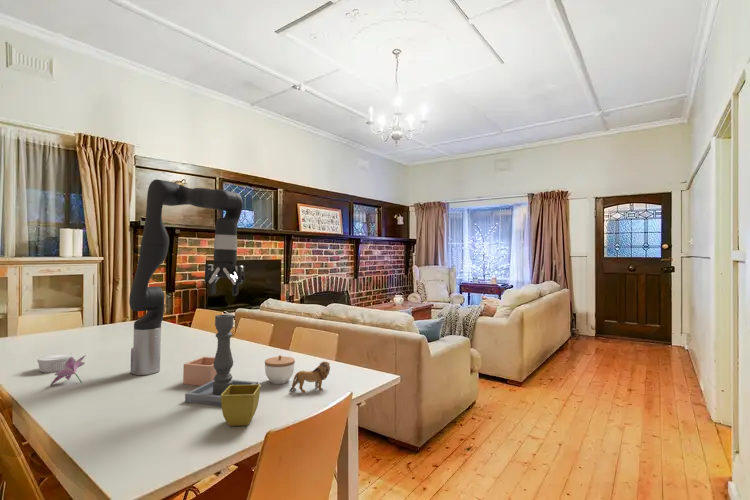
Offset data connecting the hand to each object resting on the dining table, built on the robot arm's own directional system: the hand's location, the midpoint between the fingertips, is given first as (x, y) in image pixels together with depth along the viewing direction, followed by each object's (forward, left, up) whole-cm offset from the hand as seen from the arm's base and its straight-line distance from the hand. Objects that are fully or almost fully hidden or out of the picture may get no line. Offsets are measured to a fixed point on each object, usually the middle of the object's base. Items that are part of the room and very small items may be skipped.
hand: (223, 294), depth 133 cm
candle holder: (+4, -6, -31) cm, 32 cm away
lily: (-56, -8, -33) cm, 65 cm away
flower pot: (+21, -23, -32) cm, 45 cm away
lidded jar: (+15, +12, -32) cm, 38 cm away
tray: (+4, -6, -32) cm, 33 cm away
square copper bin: (-11, +6, -32) cm, 34 cm away
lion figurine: (+30, +7, -33) cm, 45 cm away
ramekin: (-77, +3, -33) cm, 83 cm away
